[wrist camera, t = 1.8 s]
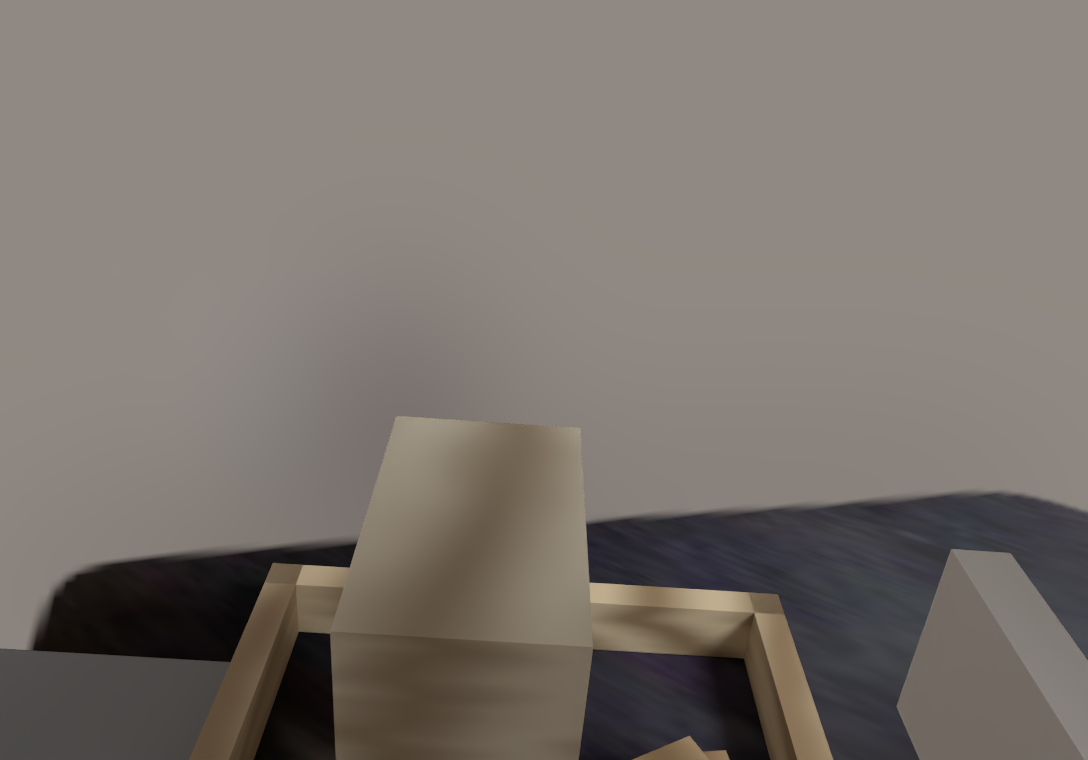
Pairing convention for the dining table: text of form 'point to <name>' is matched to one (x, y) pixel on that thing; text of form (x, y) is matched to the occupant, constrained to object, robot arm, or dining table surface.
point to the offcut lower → (717, 755)
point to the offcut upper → (676, 751)
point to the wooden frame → (617, 624)
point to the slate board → (103, 705)
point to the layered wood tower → (467, 599)
